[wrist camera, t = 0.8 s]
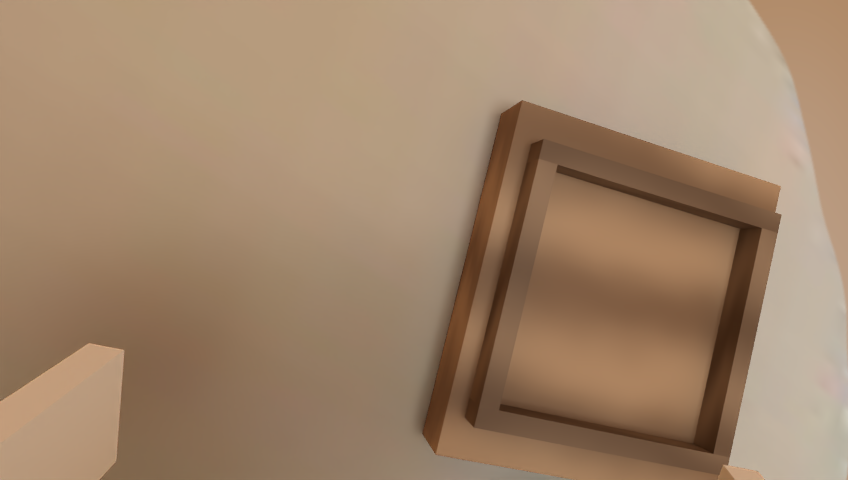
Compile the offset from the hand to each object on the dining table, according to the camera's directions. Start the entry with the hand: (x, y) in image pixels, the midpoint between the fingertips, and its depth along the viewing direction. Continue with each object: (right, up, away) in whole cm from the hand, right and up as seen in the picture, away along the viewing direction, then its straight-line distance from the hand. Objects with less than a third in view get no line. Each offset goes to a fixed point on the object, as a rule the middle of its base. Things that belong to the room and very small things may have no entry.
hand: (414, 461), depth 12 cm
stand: (+10, +1, +20) cm, 22 cm away
